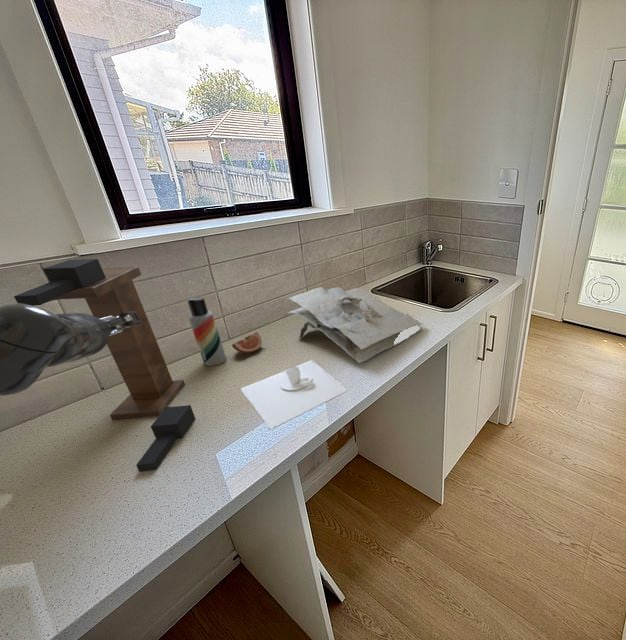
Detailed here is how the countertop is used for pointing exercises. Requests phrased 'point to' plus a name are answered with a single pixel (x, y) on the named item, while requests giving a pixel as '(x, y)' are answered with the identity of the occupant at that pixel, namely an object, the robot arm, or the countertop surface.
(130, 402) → the walnut stand
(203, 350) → the lotion bottle
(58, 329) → the robot arm
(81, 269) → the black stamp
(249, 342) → the fruit slice
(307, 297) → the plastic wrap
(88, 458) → the countertop surface
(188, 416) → the black angular piece
